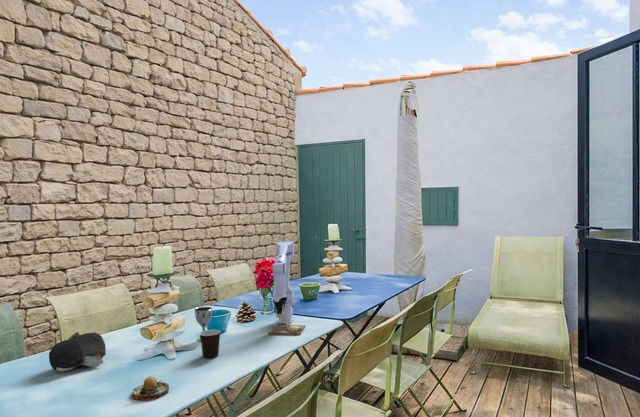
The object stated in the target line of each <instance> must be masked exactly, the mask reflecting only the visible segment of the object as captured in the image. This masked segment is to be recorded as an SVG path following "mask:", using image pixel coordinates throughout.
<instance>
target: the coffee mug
mask: <svg viewBox="0 0 640 417" xmlns="http://www.w3.org/2000/svg"><path fill="white" fill-rule="evenodd" d="M199 339H200V340H201V342H200V345H201V353H202V358H204V359H205V360H206V359H208V360H209V359H215V358H217V357H218V356H219V352H220V340H221V330H218V329H207V330H206V329H205V331H203V330H202V331H201V332H199Z"/></svg>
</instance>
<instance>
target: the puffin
mask: <svg viewBox="0 0 640 417" xmlns="http://www.w3.org/2000/svg"><path fill="white" fill-rule="evenodd" d="M106 355H107V354H106V343H105V341H104V338H103V336H102V335H101V334H99V333H97V332H87V333H86V332H85V333H82V334H80V332H78V331H75V332H74V333H73V334H72V335H70V337H69V338H68V339H65V340H61V341H60V342H58V343H56V344H55V345H53V346H52V347H51V349H50V350H49V353H48V359H49V360H48V362H49V365H50V366H51V368H52V369H53V370H54V371H56V372H68V371H72V370H73V369H74V368H76V367H82V366H83V367H88V368H92V367H93V368H94V367H99V365H101V364H103V362H104V361H103V358H104V356H106Z"/></svg>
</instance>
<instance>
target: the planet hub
mask: <svg viewBox="0 0 640 417" xmlns="http://www.w3.org/2000/svg"><path fill="white" fill-rule="evenodd" d="M275 315H276V318H278V319H279V318H282V317H284V305H283V308H282V314H277V311H276V310H275Z"/></svg>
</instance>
